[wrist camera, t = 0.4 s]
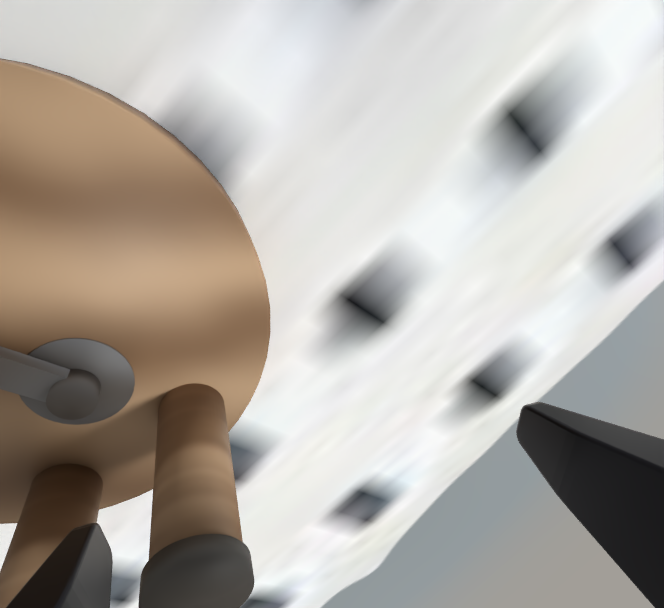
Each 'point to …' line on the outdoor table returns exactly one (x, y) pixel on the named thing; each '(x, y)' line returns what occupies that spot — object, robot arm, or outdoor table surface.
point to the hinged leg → (50, 384)
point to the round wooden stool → (124, 336)
